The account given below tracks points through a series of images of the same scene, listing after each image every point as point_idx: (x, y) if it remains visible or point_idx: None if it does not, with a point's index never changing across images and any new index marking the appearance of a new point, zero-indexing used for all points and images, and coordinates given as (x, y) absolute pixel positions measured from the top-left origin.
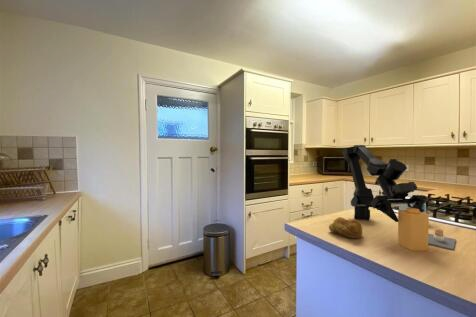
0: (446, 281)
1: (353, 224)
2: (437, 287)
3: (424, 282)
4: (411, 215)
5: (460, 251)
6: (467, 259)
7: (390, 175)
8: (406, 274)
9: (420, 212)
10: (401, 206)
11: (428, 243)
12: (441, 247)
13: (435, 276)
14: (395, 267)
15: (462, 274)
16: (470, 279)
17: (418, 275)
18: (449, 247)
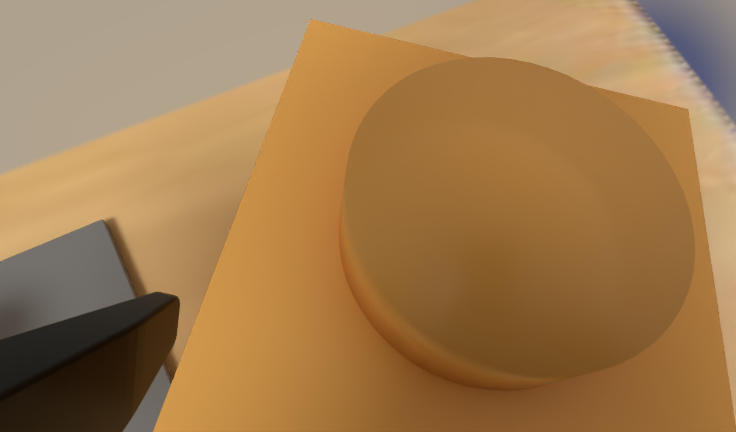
0: (568, 32)
1: None
2: (642, 21)
3: (670, 52)
4: (668, 114)
5: (74, 201)
6: (202, 116)
7: None
8: (710, 108)
9: (298, 171)
10: None
11: (166, 369)
12: (132, 289)
13: (582, 64)
14: (728, 165)
15: (435, 41)
16: (446, 13)
17: (657, 88)
18: (93, 248)
